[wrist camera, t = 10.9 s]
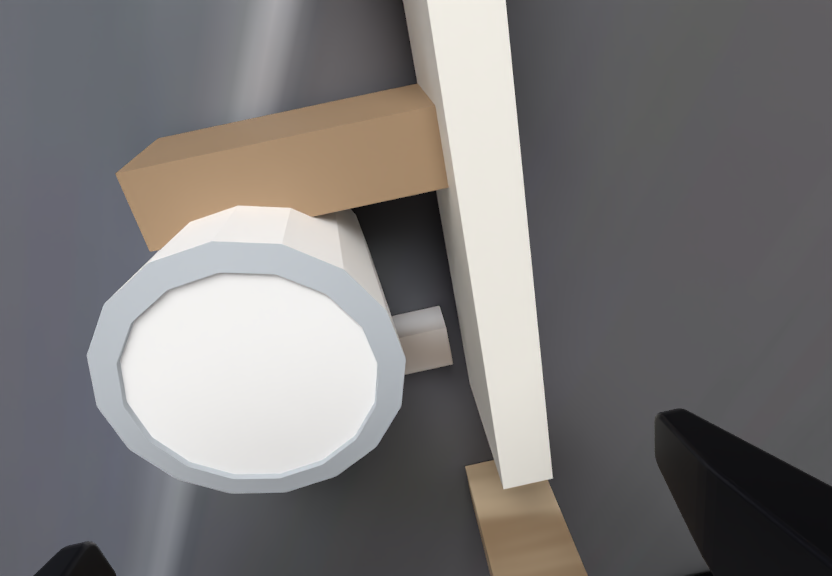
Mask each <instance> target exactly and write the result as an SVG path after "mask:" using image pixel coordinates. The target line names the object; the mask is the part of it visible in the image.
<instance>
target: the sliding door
mask: <svg viewBox="0 0 832 576" xmlns="http://www.w3.org/2000/svg"><path fill="white" fill-rule="evenodd" d="M403 4H404V10H405V16H406V22H407V27H408V33H409V39H410V45H411V50H412V56H413V62H414V67H415V73H416V79H417V84H413V85H408V86H403V87H399V88H394V89H389V90H384V91H380V92H375V93H370V94H366V95H361V96H356V97H351V98H347V99H342V100H337V101H333V102H328V103H323V104H318V105H314V106H309V107H304V108H300V109H295V110H290V111H285V112H281V113H276V114H271V115H266V116H262V117H257V118H252V119H248V120H243V121H238V122H233V123H229V124H224V125H219V126H215V127H210V128H205V129H200V130H196V131H191V132H186V133H182V134H177V135H172V136H167V137H163V138H158V139H157V140H156V141H154V142H153V143H152V144H151V145H150V146H148V147H147V148H146V149H145V150H143V151H142V152H141V153H140V154H139V155H137V156H136V157H135V158H134V159H133V160H131V161H130V162H129V163H128V164H126V165H125V166H124V167H123V168H122V169H120V170H119V171H118V172H117V173H115V174H116V176H117V178H118V181H119V183H120V185H121V187H122V190H123V192H124V194H125V196H126V199H127V201H128V203H129V205H130V208H131V210H132V212H133V214H134V217H135V219H136V221H137V224H138V226H139V228H140V230H141V233H142V235H143V237H144V239H145V242H146V244H147V246H148V248H149V251H155V250H160V249H162V248H163V247H164V246H165V245H166V244H167V243H168V242H169V241H170V240H171V239H172V238H173V237H174V236H175V235H177V234H178V233H179V232H180V231H181V230H182V229H183V228H184V227H185V226H186V225H187V224H188V223H189V222H191V221H194V220H197V219H200V218H203V217H206V216H209V215H212V214H215V213H218V212H221V211H223V210H226V209H229V208H232V207H235V206H259V207H281V208H292V209H294V210H297V211H299V212H301V213H304V214H306V215H308V216H311V217H314V216H318V215H323V214H328V213H332V212H337V211H342V210H346V209H351V208H355V207H360V206H365V205H369V204H374V203H379V202H383V201H388V200H393V199H397V198H402V197H407V196H411V195H416V194H421V193H425V192H430V191H435V190H436V194H437V199H438V205H439V211H440V216H441V222H442V228H443V234H444V239H445V245H446V251H447V257H448V262H449V268H450V274H451V280H452V285H453V291H454V297H455V302H456V308H457V314H458V320H459V325H460V331H461V337H462V343H463V348H464V354H465V360H466V365H467V371H468V377H469V383H470V386H471V389H472V393H473V396H474V399H475V402H476V405H477V408H478V411H479V414H480V418H481V421H482V424H483V427H484V430H485V433H486V436H487V439H488V442H489V446H490V449H491V452H492V455H493V458H494V461H495V464H496V467H497V470H498V474H499V477H500V480H501V483H502V486H503V489H508V488H512V487H517V486H521V485H526V484H530V483H535V482H539V481H544V480H548V479H553V475H552V465H551V455H550V445H549V435H548V425H547V415H546V404H545V394H544V384H543V374H542V364H541V354H540V344H539V334H538V323H537V313H536V303H535V293H534V283H533V273H532V263H531V253H530V243H529V232H528V222H527V212H526V202H525V192H524V182H523V172H522V162H521V151H520V141H519V131H518V121H517V111H516V101H515V91H514V81H513V70H512V60H511V50H510V40H509V30H508V20H507V10H506V0H403Z"/></svg>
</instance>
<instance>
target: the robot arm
mask: <svg viewBox="0 0 832 576" xmlns="http://www.w3.org/2000/svg"><path fill="white" fill-rule="evenodd" d="M654 434H655V457H656V461H657V464H658V466H659V469H660V471H661V473H662V475H663V477H664V479H665V481H666V483H667V485H668V487H669V489H670V491H671V494H672V496H673V498H674V500H675V502H676V504H677V506H678V508H679V510H680V512H681V514H682V516H683V518H684V520H685V522H686V525H687V527H688V529H689V531H690V533H691V535H692V537H693V539H694V541H695V543H696V545H697V547H698V549H699V551H700V553H701V555H702V557H703V558H704V560H705V562H706V564H707V565H708V567H709V569H710V570H711V572H709V573H705V574H700V575H696V576H832V486H830V485H828V484H826V483H824V482H822V481H820V480H819V479H817V478H815V477H813V476H811V475H809V474H807V473H805V472H803V471H801V470H799V469H798V468H796V467H794V466H792V465H790V464H788V463H786V462H784V461H782V460H780V459H779V458H777V457H775V456H773V455H771V454H769V453H767V452H765V451H763V450H761V449H759V448H758V447H756V446H754V445H752V444H750V443H748V442H746V441H744V440H742V439H740V438H739V437H737V436H735V435H733V434H731V433H729V432H727V431H725V430H723V429H721V428H720V427H718V426H716V425H714V424H712V423H710V422H708V421H706V420H704V419H702V418H700V417H699V416H697V415H695V414H693V413H691V412H689V411H687V410H685V409H674V410H669V411H665V412H660V413H658V414H657V415H656V417H655V421H654ZM34 576H116V573H115V572H114V570H113V568H112V567H111V565H110V564H109V562H108V561H107V559H106V558H105V556H104V555H103V553H102V552H101V550H100V549H99V547H98V546H97V545H96V544H95V543H93V542H89V541H87V542H82V543H78V544H73V545H69V546H66V547H64V548H62V549H61V550H60V551H59V552H58V553H57V554H56V555H55V556H54V557H52V558H51V559H50V560H49V561H48V562H47V563H46V564H45V565H44V566H43V567H42V568H41V569H40V570H39V571H38V572H37V573H36V574H35V575H34Z"/></svg>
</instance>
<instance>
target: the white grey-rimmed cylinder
mask: <svg viewBox="0 0 832 576" xmlns="http://www.w3.org/2000/svg"><path fill="white" fill-rule="evenodd" d="M87 359H88V364H89V369H90V374H91V379H92V384H93V389H94V394H95V399H96V404H97V407H98V409H99V410H100V411H101V413H102V414H103V415H104V417H105V418H106V419H107V421H108V422H109V423H110V425H111V426H112V427H113V429H114V430H115V431H116V433H117V434H118V435H119V437H120V438H121V439H122V441H123V442H124V443H125V445H126V446H127V447H128V449H129V450H131V451H133V452H134V453H136V454H137V455H139V456H140V457H142V458H144V459H145V460H147V461H148V462H150V463H151V464H153V465H155V466H156V467H158V468H159V469H161V470H163V471H164V472H166V473H167V474H169V475H170V476H172V477H174V478H175V479H178V480H181V481H185V482H189V483H193V484H197V485H200V486H204V487H208V488H212V489H215V490H219V491H223V492H227V493H230V494H233V493H282V492H289V491H292V490H295V489H298V488H301V487H304V486H308V485H311V484H314V483H317V482H320V481H323V480H326V479H330V478H333V477H336V476H337V475H339V474H340V473H342V472H343V471H344V470H346V469H347V468H348V467H350V466H351V465H352V464H354V463H355V462H357V461H358V460H359V459H361V458H362V457H363V456H365V455H366V454H367V453H369V452H370V451H371V450H373V449H374V448H376V447H377V445H378V444H379V442H380V440H381V439H382V437H383V435H384V434H385V432H386V430H387V429H388V427H389V426H390V424H391V422H392V421H393V419H394V417H395V416H396V414H397V413H398V411H399V409H400V408H401V404H402V394H403V383H404V373H405V363H406V358H405V355H404V352H403V349H402V346H401V343H400V340H399V337H398V334H397V331H396V328H395V325H394V322H393V319H392V316H391V313H390V310H389V307H388V305H387V302H386V299H385V296H384V293H383V290H382V287H381V284H380V281H379V278H378V275H377V272H376V269H375V266H374V263H373V260H372V257H371V254H370V251H369V248H368V245H367V242H366V240H365V237H364V235H363V232H362V230H361V227H360V224H359V222H358V219H357V217H356V214H355V213H354V212H353V211H352V210H351V209H346V210H342V211H337V212H332V213H328V214H323V215H318V216H314V217H311V216H308V215H306V214H304V213H301V212H299V211H297V210H294V209H292V208H281V207H259V206H235V207H232V208H229V209H226V210H223V211H221V212H218V213H215V214H212V215H209V216H206V217H203V218H200V219H197V220H194V221H191V222H189V223H188V224H187V225H186V226H185V227H184V228H183V229H182V230H181V231H180V232H179V233H178V234H177V235H175V236H174V237H173V238H172V239H171V240H170V241H169V242H168V243H167V244H166V245H165V246H164V247H163V248H162V249H160V250H159V251H158V252H157V253H156V254H155V255H154V256H153V257H152V258H151V259H150V260H149V261H148V262H147V263H146V264H145V265H144V266H143V267H142V268H141V269H140V270H139V271H138V272H137V273H136V274H135V275H134V276H132V277H131V278H130V279H129V280H128V281H127V282H126V283H125V284H124V285H123V286H122V287H121V288H120V289H119V290H118V291H117V292H116V293H115V294H114V295H113V296H112V297H111V298H110V299H109V300H108V301H107V302H106V303H105V304H104V305H103V308H102V311H101V314H100V317H99V320H98V323H97V326H96V329H95V332H94V335H93V338H92V341H91V344H90V347H89V350H88V353H87Z"/></svg>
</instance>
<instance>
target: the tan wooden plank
mask: <svg viewBox="0 0 832 576" xmlns="http://www.w3.org/2000/svg"><path fill="white" fill-rule="evenodd" d="M392 319H393V322H394V325H395V328H396V331H397V334H398V337H399V340H400V343H401V346H402V349H403V352H404V355H405V358H406V363H405V373H404V375H406V374H410V373H415V372H420V371H424V370H429V369H433V368H438V367H442V366H447V365H452V364H453V361H452V356H451V350H450V345H449V340H448V335H447V329H446V325H445V322H444V319H443V315H442V312H441V309H440V306H436V307H431V308H426V309H422V310H417V311H413V312H408V313H403V314H399V315H394V316H392ZM465 468H466V473H467V478H468V483H469V488H470V494H471V499H472V504H473V508H474V512H475V515H476V519H477V523H478V527H479V531H480V535H481V539H482V543H483V547H484V551H485V555H486V559H487V563H488V567H489V571H490V575H491V576H588V575H587V573H586V571H585V568H584V566H583V563H582V561H581V559H580V556H579V554H578V551H577V549H576V547H575V544H574V542H573V539H572V537H571V535H570V532H569V530H568V527H567V525H566V523H565V520H564V518H563V515H562V513H561V511H560V508H559V506H558V503H557V501H556V499H555V496H554V494H553V491H552V489H551V487H550V484H549V482H548V480H544V481H539V482H535V483H530V484H526V485H521V486H517V487H512V488H508V489H503V486H502V483H501V480H500V477H499V474H498V470H497V467H496V464H495V461H494V460H491V461H487V462H482V463H478V464H473V465H469V466H465Z"/></svg>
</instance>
